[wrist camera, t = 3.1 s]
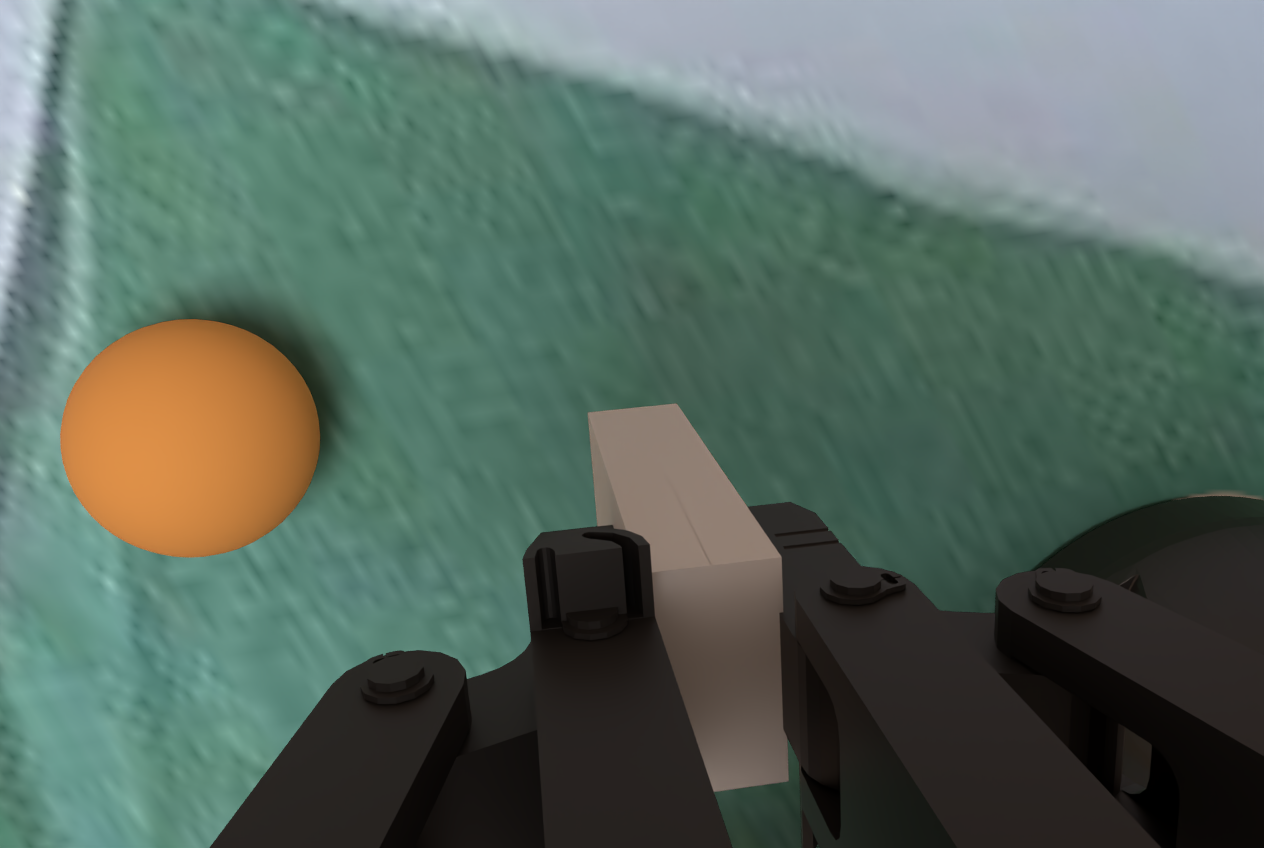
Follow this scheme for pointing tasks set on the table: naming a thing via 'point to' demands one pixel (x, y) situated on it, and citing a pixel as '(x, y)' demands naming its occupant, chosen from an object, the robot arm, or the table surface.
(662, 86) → the table surface
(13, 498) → the table surface
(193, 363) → the ball
